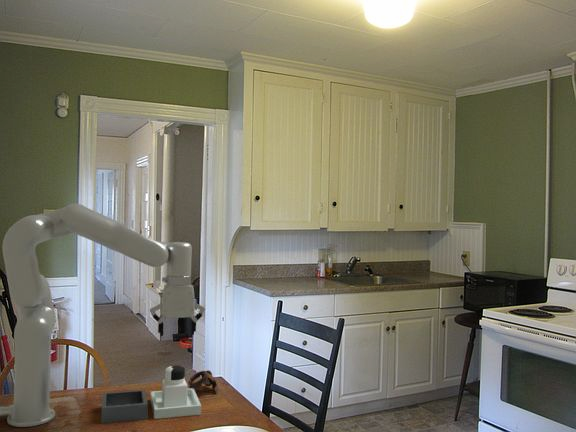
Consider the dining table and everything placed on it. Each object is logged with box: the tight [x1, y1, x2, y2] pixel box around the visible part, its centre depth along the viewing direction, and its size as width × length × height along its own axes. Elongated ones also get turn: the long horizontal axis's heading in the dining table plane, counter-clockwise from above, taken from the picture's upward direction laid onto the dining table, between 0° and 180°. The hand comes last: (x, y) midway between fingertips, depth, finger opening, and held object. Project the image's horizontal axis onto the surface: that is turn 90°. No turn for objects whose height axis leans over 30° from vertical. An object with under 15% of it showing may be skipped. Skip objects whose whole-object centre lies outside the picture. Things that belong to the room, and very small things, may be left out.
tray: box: [150, 387, 202, 420], centre depth 163 cm, size 14×16×3 cm
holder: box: [100, 389, 149, 424], centre depth 157 cm, size 13×13×4 cm
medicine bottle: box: [161, 365, 189, 408], centre depth 163 cm, size 7×7×12 cm
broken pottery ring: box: [187, 370, 219, 395], centre depth 179 cm, size 12×10×8 cm
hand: (176, 334), depth 163 cm, fingers open, 9 cm apart
